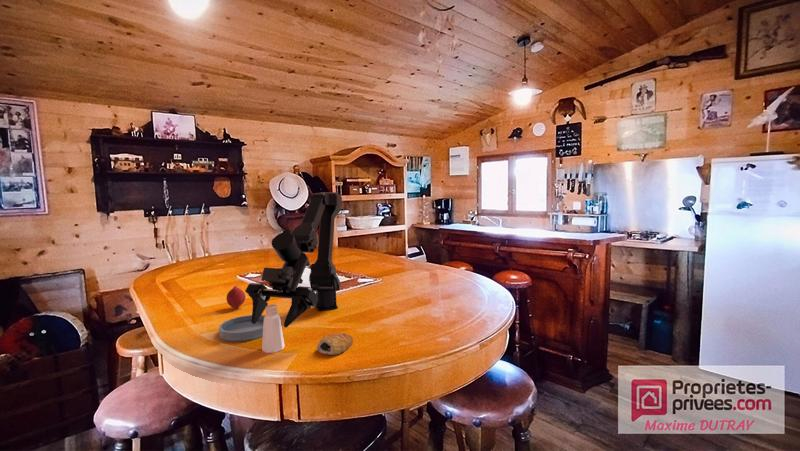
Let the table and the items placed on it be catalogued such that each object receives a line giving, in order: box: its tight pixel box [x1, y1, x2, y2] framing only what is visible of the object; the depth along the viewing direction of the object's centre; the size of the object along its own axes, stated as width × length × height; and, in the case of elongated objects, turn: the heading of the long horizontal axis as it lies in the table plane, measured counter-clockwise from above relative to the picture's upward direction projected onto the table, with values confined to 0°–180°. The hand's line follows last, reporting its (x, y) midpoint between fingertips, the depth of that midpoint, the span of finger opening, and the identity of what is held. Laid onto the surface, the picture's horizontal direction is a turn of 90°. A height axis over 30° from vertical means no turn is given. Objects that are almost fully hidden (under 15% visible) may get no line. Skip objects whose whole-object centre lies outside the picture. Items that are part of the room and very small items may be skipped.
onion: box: [225, 284, 246, 309], centre depth 126 cm, size 6×6×8 cm
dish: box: [218, 314, 266, 343], centre depth 105 cm, size 14×14×2 cm
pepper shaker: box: [261, 304, 286, 354], centre depth 93 cm, size 5×5×11 cm
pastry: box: [316, 333, 354, 356], centre depth 94 cm, size 9×7×4 cm
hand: (268, 325), depth 92 cm, fingers open, 9 cm apart
